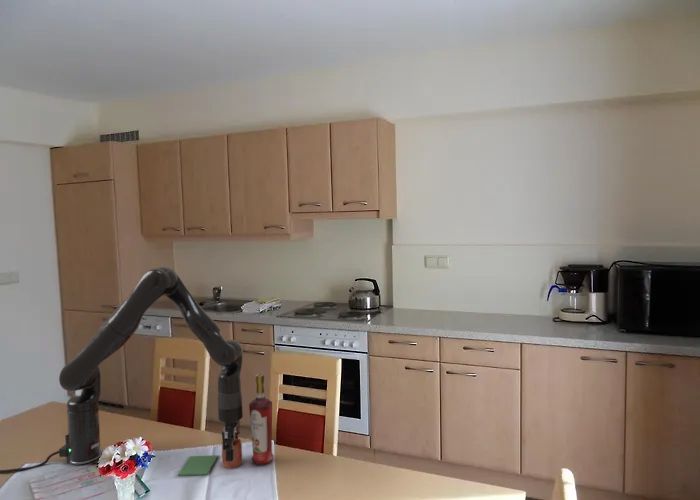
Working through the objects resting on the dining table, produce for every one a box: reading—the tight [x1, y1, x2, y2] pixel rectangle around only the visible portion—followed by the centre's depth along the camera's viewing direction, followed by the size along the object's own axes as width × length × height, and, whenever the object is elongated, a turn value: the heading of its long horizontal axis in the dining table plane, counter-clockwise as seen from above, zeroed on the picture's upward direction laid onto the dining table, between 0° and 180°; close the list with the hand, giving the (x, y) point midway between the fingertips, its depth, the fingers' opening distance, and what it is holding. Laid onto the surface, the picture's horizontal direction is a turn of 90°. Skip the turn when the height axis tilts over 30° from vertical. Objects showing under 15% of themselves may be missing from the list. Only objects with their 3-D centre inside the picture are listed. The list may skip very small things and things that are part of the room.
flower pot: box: [221, 438, 243, 469], centre depth 159 cm, size 6×6×7 cm
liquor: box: [248, 373, 274, 465], centre depth 159 cm, size 7×7×28 cm
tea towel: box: [177, 455, 219, 477], centre depth 158 cm, size 9×12×1 cm
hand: (232, 455), depth 159 cm, fingers closed on flower pot, 6 cm apart
